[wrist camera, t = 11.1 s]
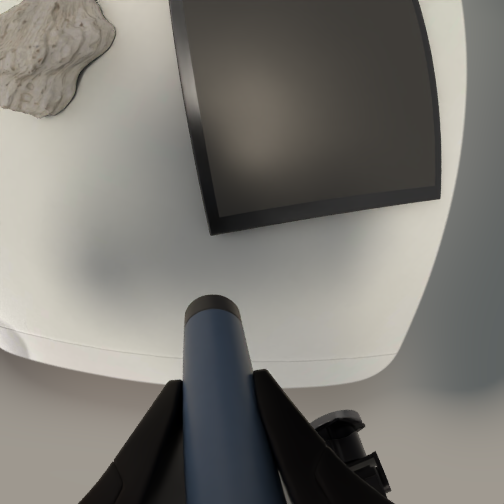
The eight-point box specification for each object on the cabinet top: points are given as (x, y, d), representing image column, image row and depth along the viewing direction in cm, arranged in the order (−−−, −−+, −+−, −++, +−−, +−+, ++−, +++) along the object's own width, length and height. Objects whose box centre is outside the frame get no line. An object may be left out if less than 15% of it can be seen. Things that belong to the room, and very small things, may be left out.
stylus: (251, 311, 12) (332, 575, 3) (217, 346, 12) (257, 587, 3) (206, 283, 11) (247, 595, 2) (174, 321, 11) (176, 592, 2)
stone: (86, 121, 11) (-57, 129, 7) (102, 117, 15) (-21, 120, 11) (139, -50, 7) (-14, -28, 3) (140, -19, 11) (12, -9, 7)
